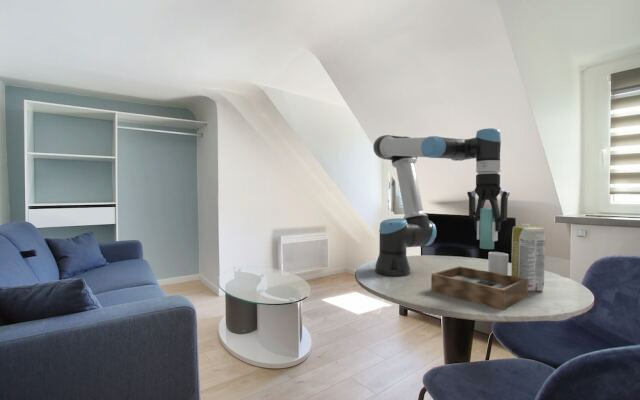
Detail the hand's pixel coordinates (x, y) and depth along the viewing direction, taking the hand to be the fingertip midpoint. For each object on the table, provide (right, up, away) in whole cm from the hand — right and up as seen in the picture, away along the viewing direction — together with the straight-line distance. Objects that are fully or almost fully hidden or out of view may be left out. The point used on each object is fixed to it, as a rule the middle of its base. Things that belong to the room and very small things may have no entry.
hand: (487, 239), depth 111 cm
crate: (-4, -19, -1) cm, 19 cm away
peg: (0, -3, 0) cm, 3 cm away
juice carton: (+18, -19, +6) cm, 27 cm away
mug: (+10, -19, +12) cm, 24 cm away
